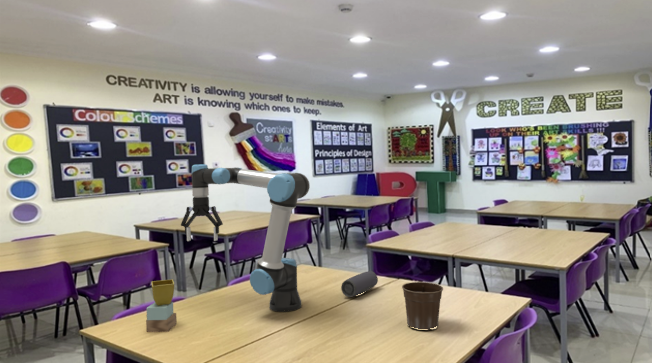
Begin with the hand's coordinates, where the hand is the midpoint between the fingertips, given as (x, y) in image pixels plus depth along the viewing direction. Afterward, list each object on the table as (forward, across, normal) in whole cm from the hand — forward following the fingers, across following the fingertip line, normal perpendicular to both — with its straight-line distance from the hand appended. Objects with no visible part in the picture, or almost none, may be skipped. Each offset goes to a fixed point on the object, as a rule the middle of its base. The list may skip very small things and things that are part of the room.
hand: (202, 240), depth 214 cm
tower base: (+32, +6, +30) cm, 44 cm away
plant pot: (+32, -102, +22) cm, 109 cm away
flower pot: (+22, +6, +29) cm, 37 cm away
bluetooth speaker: (+32, -74, -23) cm, 84 cm away
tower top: (+27, +6, +30) cm, 41 cm away
